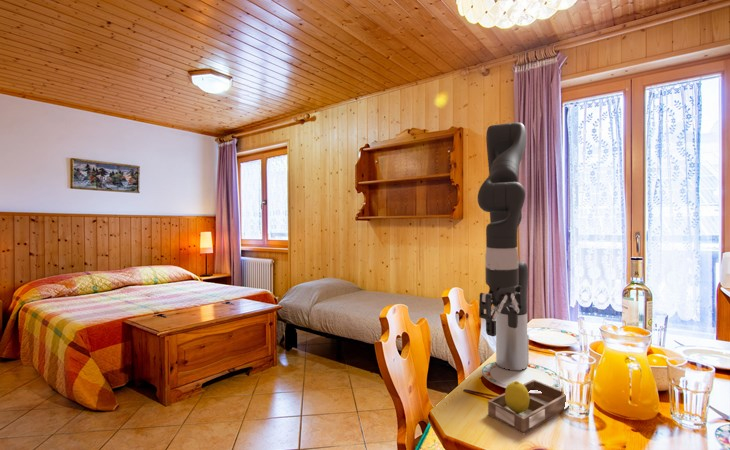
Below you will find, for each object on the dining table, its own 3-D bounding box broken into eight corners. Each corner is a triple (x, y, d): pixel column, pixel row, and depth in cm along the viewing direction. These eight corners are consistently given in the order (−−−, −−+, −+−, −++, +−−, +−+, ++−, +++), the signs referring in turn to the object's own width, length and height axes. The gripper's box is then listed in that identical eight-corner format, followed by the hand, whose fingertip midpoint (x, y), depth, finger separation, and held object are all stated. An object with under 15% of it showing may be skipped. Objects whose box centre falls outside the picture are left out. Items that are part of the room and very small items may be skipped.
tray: (533, 392, 103) (533, 379, 103) (569, 407, 95) (569, 394, 95) (487, 415, 93) (487, 401, 93) (524, 434, 85) (524, 419, 84)
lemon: (532, 420, 88) (531, 386, 88) (507, 419, 89) (506, 385, 89) (526, 408, 94) (525, 376, 94) (503, 407, 95) (502, 375, 95)
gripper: (506, 260, 99) (506, 321, 100) (469, 267, 90) (470, 333, 92) (533, 263, 92) (533, 328, 93) (496, 271, 84) (497, 342, 85)
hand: (502, 331), depth 93 cm, fingers open, 8 cm apart
